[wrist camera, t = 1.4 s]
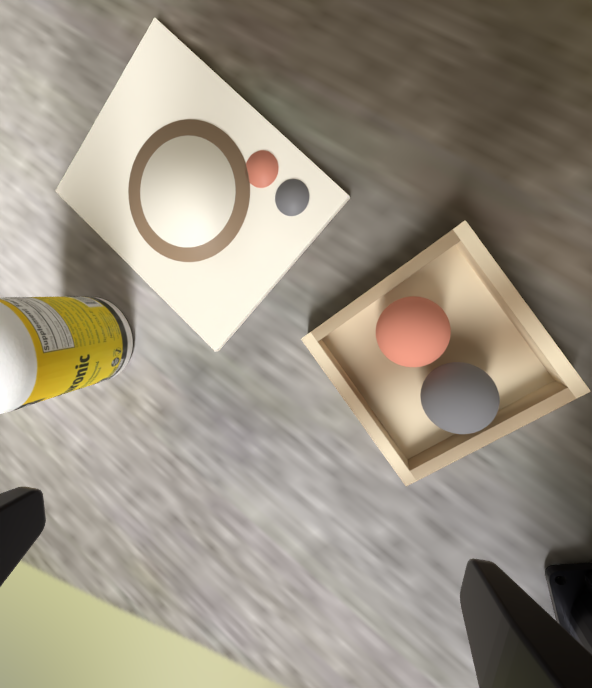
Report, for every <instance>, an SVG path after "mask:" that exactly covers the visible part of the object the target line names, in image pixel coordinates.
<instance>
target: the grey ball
mask: <svg viewBox="0 0 592 688" xmlns="http://www.w3.org/2000/svg"><path fill="white" fill-rule="evenodd" d="M420 397H421V404H422V407H423V410H424V412H425V414H426V415H427V417H428V418H429V419H430V420H431V421H432V422H433V423H434V424H435V425H436V426H438V427H439V428H441V429H443V430H445V431H448V432H451V433H455V434H471V433H475V432H478V431H480V430H482V429H484V428H485V427H487V426H488V425H489V424H490V423H491V422H492V421H493V420H494V418H495V416H496V414H497V412H498V409H499V403H500V397H499V392H498V389H497V386H496V384H495V382H494V381H493V380H492V378H491V377H490V376H489V375H488V374H487V373H486V372H485V371H483V370H482V369H480V368H479V367H476V366H474V365H472V364H469V363H464V362H451V363H446V364H443V365H441V366H439V367H437V368H435V369H434V370H433V371H431V372H430V373H429V374H428V376H427V377H426V378H425V380H424V382H423V385H422V388H421V394H420Z"/></svg>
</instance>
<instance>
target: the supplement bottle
mask: <svg viewBox="0 0 592 688" xmlns="http://www.w3.org/2000/svg"><path fill="white" fill-rule="evenodd" d="M132 348H133V339H132V333H131V329H130V327H129V324H128V322H127V320H126V318H125V317H124V315H123V314H122V313H121V311H120V310H119V309H118V308H117V307H116V306H115V305H113V304H112V303H110V302H108V301H107V300H104V299H101V298H98V297H84V296H82V297H78V296H76V297H72V296H70V297H5V298H0V414H2V413H6V412H9V411H13V410H17V409H19V408H22V407H25V406H28V405H31V404H34V403H37V402H40V401H43V400H46V399H49V398H52V397H56V396H59V395H62V394H65V393H68V392H71V391H74V390H77V389H80V388H83V387H87V386H90V385H93V384H96V383H99V382H102V381H105V380H108V379H110V378H113V377H114V376H116V375H118V374H119V373H120V372H121V371H122V370H123V369H124V368H125V367H126V365H127V364H128V362H129V359H130V357H131V353H132Z"/></svg>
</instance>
